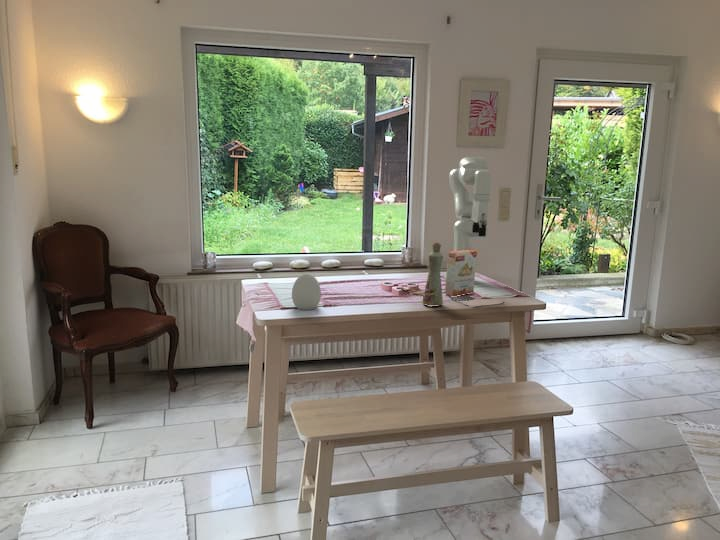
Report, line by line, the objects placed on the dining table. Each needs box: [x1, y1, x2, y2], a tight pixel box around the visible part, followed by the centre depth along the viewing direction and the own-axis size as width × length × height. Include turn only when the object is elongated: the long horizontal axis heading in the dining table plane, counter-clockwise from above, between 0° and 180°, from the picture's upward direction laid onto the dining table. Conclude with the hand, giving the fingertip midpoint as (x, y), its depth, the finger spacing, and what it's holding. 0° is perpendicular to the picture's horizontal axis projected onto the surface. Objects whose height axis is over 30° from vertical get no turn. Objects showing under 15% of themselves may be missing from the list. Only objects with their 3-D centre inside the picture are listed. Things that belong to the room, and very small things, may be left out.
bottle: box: [421, 242, 444, 306], centre depth 260 cm, size 9×9×28 cm
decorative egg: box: [291, 272, 322, 311], centre depth 252 cm, size 12×12×15 cm
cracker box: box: [444, 250, 478, 297], centre depth 281 cm, size 14×6×21 cm, turn 126°
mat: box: [449, 295, 475, 301], centre depth 272 cm, size 16×18×1 cm
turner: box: [410, 288, 425, 297], centre depth 283 cm, size 16×5×1 cm, turn 48°
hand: (478, 234), depth 278 cm, fingers open, 9 cm apart
